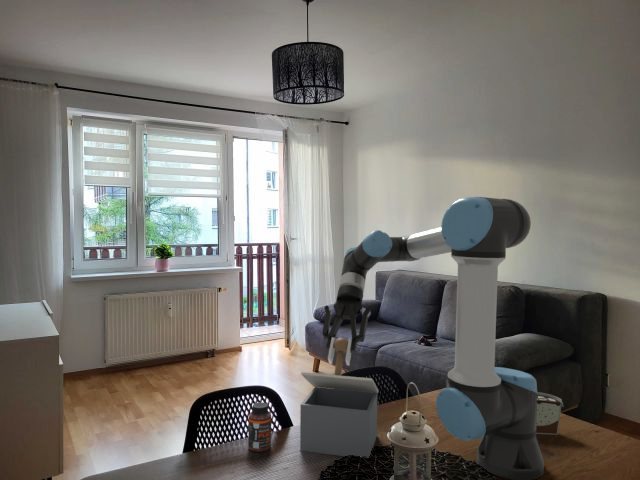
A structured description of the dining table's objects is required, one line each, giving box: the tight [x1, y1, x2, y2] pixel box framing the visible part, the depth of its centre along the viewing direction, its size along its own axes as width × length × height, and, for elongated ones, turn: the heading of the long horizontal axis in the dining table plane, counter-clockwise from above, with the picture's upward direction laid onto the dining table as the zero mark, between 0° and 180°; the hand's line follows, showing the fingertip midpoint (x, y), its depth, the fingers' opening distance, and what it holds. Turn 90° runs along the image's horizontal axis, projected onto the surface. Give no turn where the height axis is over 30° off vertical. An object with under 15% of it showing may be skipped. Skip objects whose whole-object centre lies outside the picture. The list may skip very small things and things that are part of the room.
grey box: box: [299, 387, 378, 457], centre depth 125 cm, size 18×14×12 cm
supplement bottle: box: [247, 401, 272, 453], centre depth 122 cm, size 6×6×11 cm
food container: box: [536, 392, 564, 436], centre depth 134 cm, size 12×6×10 cm, turn 84°
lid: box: [300, 337, 379, 394], centre depth 128 cm, size 19×15×11 cm
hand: (338, 361), depth 122 cm, fingers closed on lid, 4 cm apart
